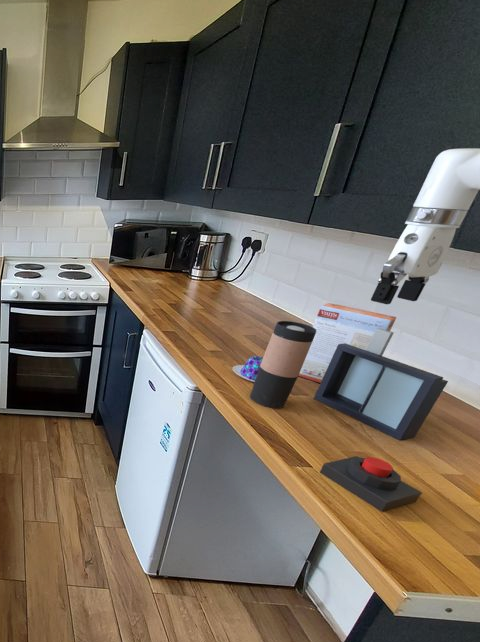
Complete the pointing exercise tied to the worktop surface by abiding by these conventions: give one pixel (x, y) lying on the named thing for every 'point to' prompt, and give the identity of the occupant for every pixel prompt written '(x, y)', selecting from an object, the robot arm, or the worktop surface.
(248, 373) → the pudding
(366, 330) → the cracker box
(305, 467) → the worktop surface
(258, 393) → the travel mug
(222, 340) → the worktop surface
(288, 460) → the worktop surface
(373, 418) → the window frame
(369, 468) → the button
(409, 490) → the control block
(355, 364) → the sash
